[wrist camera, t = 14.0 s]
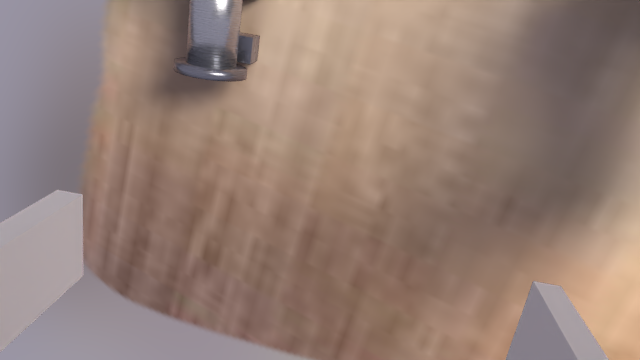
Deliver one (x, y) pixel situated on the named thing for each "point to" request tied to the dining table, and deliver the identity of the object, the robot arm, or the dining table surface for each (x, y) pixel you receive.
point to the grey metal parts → (217, 42)
